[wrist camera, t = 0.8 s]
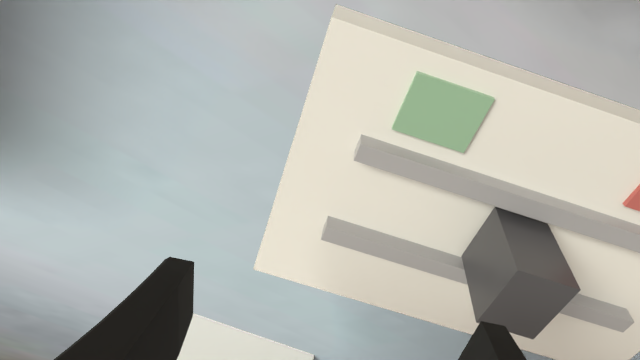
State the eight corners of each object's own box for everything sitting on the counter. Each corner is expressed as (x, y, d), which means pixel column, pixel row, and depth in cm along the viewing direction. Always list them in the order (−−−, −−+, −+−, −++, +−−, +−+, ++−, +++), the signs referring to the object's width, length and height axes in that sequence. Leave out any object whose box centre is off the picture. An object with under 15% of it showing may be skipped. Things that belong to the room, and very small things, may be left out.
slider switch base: (792, 163, 18) (852, 203, 16) (594, 344, 26) (616, 389, 23) (336, 3, 17) (329, 22, 15) (261, 243, 24) (249, 280, 22)
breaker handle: (547, 223, 19) (580, 289, 16) (509, 271, 20) (533, 339, 17) (495, 206, 19) (518, 270, 15) (461, 255, 20) (476, 322, 17)
